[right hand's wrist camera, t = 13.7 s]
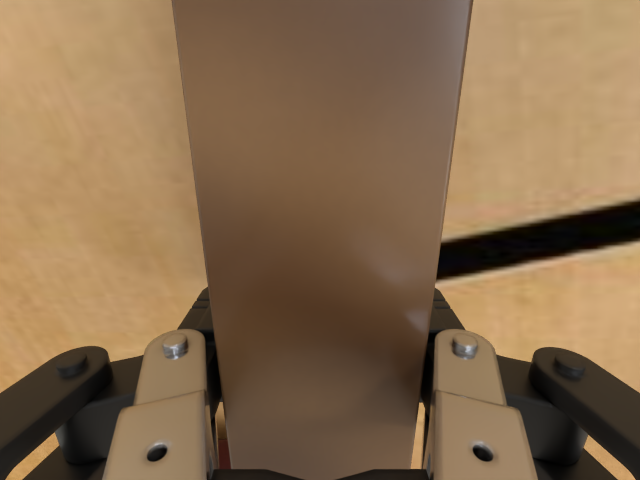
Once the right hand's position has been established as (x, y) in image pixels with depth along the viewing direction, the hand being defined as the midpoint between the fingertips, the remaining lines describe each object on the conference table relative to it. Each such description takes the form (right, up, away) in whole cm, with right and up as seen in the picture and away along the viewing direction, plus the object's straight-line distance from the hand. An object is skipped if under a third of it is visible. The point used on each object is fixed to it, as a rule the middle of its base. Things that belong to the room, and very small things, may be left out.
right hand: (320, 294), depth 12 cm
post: (0, +35, -11) cm, 37 cm away
